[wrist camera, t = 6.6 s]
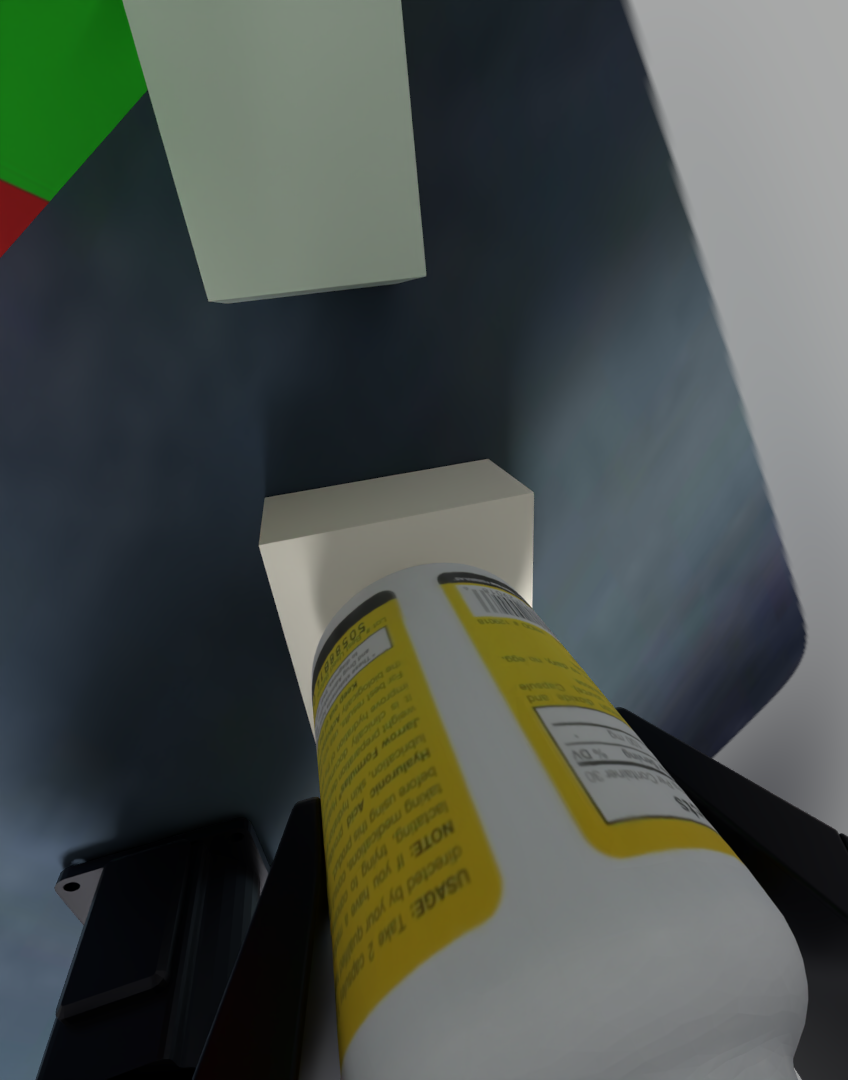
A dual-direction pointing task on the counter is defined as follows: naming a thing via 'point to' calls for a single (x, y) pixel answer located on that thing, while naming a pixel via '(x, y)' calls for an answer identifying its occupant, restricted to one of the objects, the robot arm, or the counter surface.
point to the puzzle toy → (58, 96)
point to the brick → (286, 140)
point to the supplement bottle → (524, 863)
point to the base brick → (388, 542)
